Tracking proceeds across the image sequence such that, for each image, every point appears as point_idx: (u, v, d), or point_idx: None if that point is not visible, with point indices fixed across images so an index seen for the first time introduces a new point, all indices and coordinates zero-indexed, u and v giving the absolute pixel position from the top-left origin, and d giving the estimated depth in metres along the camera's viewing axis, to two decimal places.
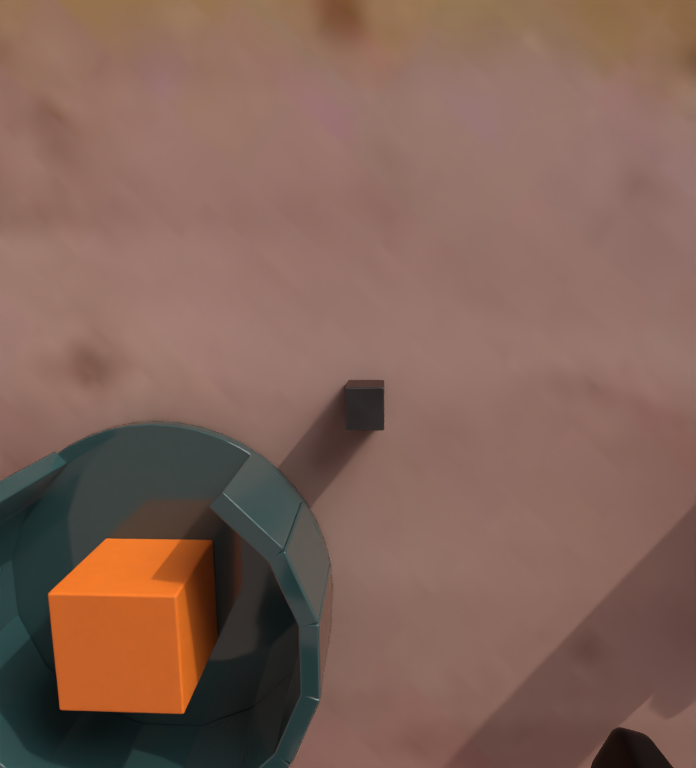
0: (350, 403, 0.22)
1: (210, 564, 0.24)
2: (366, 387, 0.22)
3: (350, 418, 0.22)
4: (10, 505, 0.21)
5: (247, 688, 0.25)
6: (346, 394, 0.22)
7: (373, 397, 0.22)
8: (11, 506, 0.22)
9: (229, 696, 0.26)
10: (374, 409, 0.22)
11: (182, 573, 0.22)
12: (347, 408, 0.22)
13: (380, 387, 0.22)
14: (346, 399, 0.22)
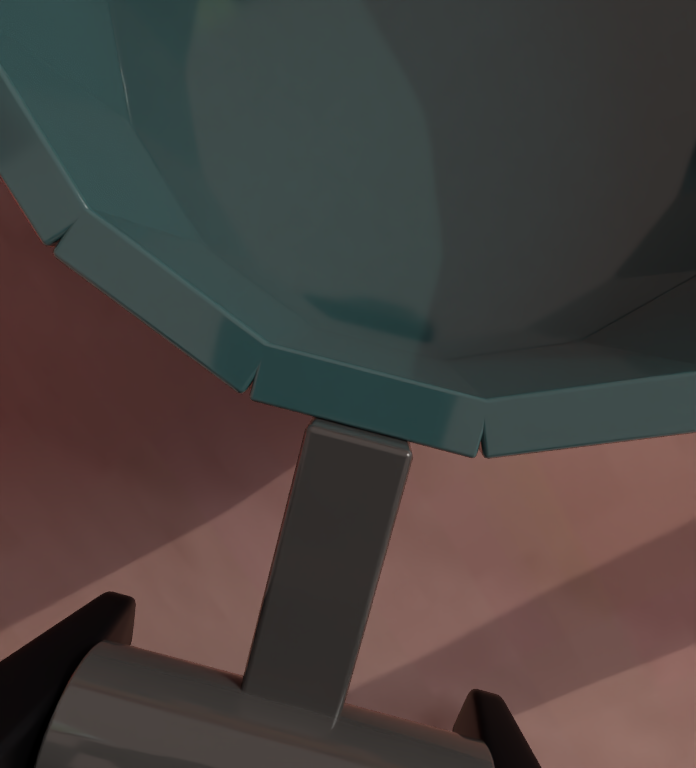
0: None
1: None
2: None
3: None
4: None
5: (582, 291, 0.11)
6: None
7: None
8: None
9: (534, 302, 0.11)
10: None
11: None
12: None
13: None
14: None
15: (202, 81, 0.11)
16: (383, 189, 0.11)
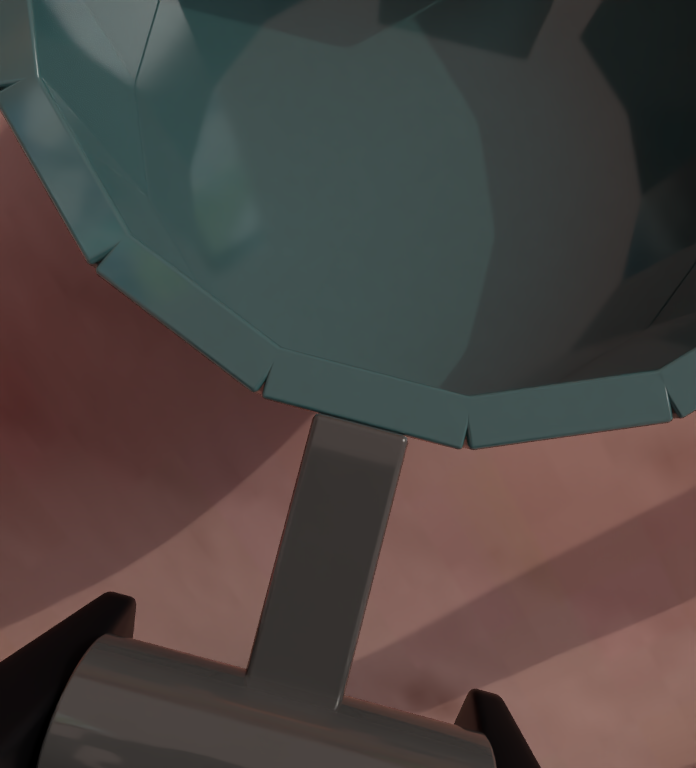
0: None
1: None
2: None
3: None
4: None
5: (545, 344, 0.12)
6: None
7: None
8: None
9: (503, 353, 0.12)
10: None
11: None
12: None
13: None
14: None
15: (214, 166, 0.13)
16: (369, 256, 0.12)
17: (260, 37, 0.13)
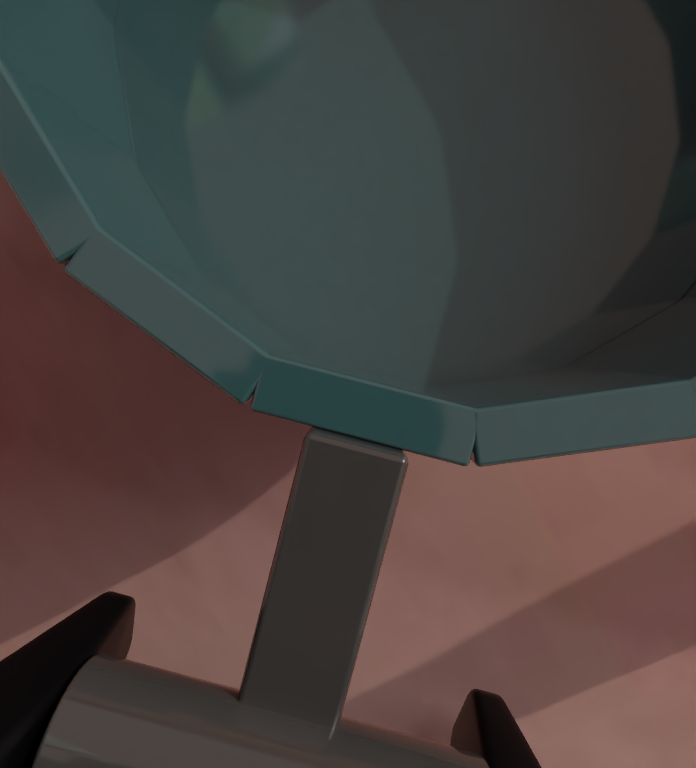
0: None
1: None
2: None
3: None
4: None
5: (565, 320, 0.11)
6: None
7: None
8: None
9: (520, 330, 0.11)
10: None
11: None
12: None
13: None
14: None
15: (204, 122, 0.11)
16: (375, 223, 0.11)
17: None
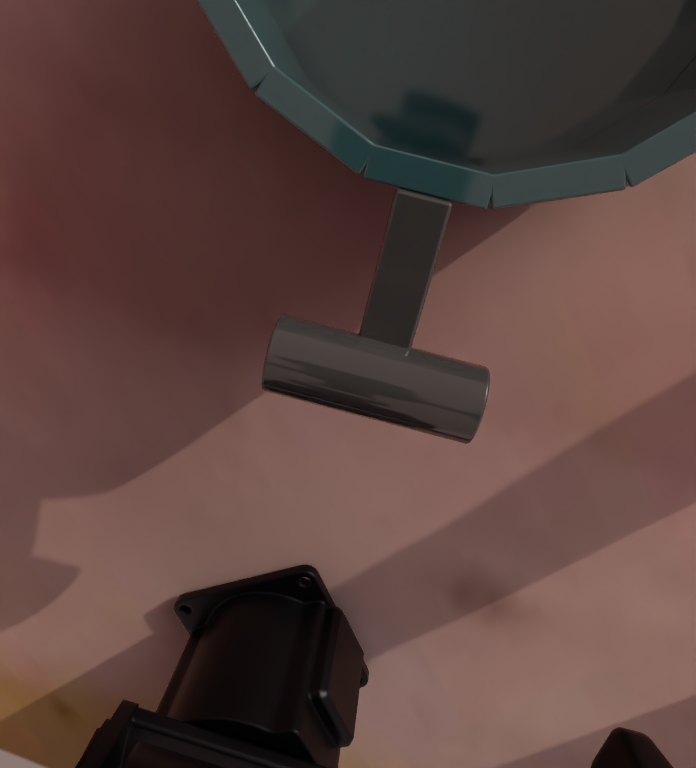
0: None
1: None
2: None
3: None
4: None
5: (575, 112, 0.16)
6: None
7: None
8: None
9: (540, 121, 0.16)
10: None
11: None
12: None
13: None
14: None
15: None
16: (437, 38, 0.15)
17: None
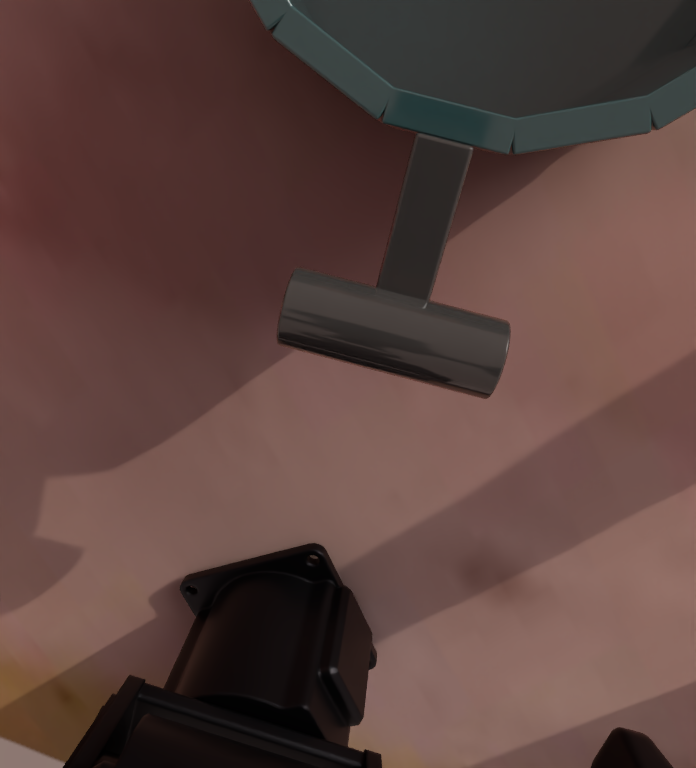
0: None
1: None
2: None
3: None
4: None
5: (593, 68, 0.16)
6: None
7: None
8: None
9: (558, 77, 0.16)
10: None
11: None
12: None
13: None
14: None
15: None
16: None
17: None
